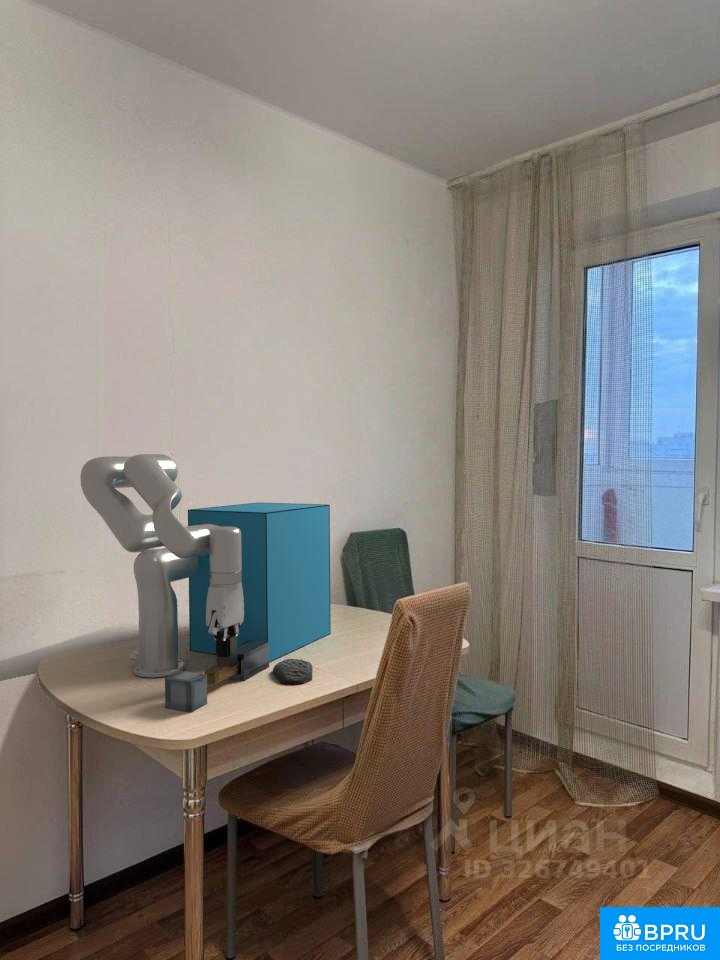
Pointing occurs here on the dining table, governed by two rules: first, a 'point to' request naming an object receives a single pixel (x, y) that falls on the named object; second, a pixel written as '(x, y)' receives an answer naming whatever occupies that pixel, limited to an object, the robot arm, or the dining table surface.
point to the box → (270, 575)
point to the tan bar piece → (225, 664)
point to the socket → (186, 691)
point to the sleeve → (252, 659)
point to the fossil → (293, 672)
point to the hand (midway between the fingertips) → (226, 653)
